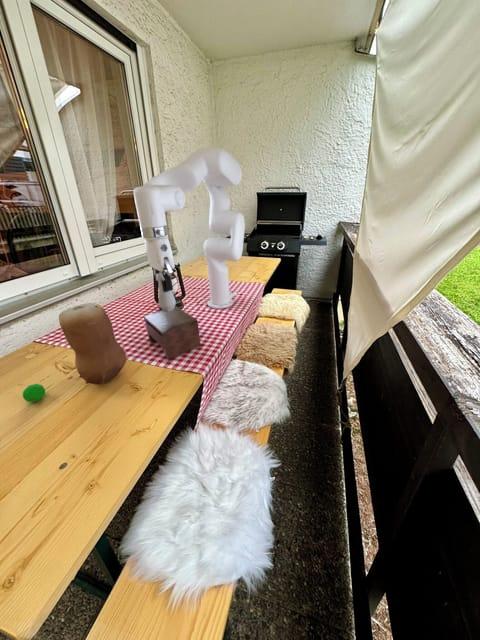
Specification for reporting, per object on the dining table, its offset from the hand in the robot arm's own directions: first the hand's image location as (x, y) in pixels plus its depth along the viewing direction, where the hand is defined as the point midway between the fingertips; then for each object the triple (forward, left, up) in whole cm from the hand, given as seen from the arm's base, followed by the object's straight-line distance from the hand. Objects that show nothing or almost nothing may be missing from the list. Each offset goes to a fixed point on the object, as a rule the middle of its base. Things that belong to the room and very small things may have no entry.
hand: (164, 288), depth 87 cm
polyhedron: (+43, -1, -23) cm, 49 cm away
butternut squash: (+25, +3, -23) cm, 34 cm away
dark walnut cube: (0, 0, -22) cm, 22 cm away
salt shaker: (0, 0, -8) cm, 8 cm away
